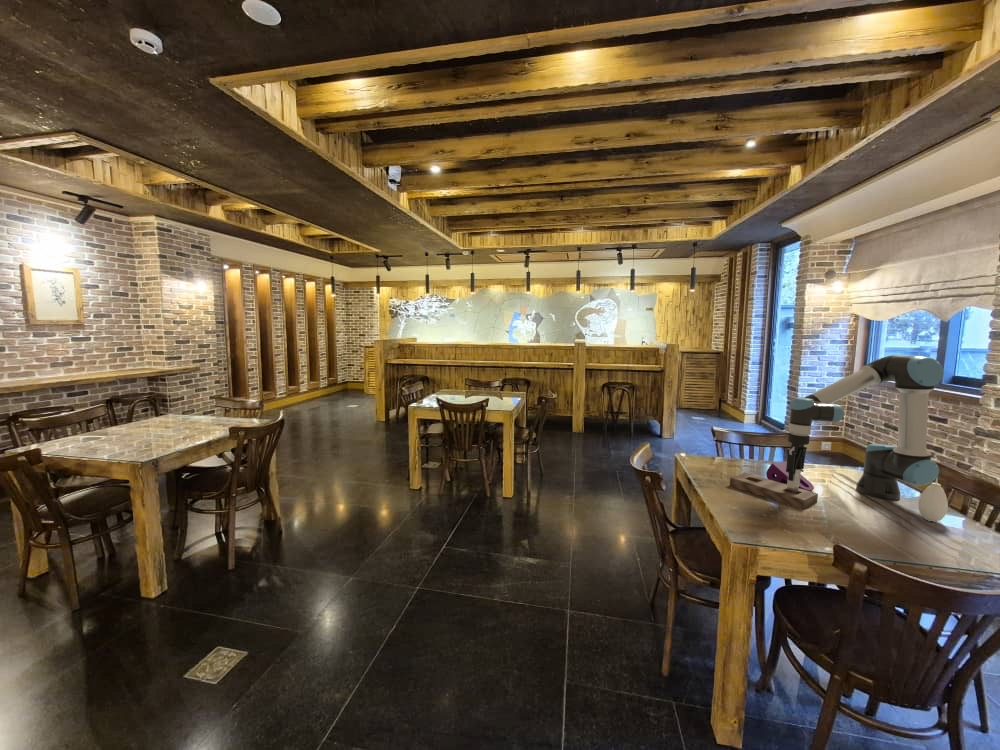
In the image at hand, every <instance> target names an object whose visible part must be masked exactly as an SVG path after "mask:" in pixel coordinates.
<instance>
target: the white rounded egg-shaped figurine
mask: <svg viewBox="0 0 1000 750" xmlns="http://www.w3.org/2000/svg"><path fill="white" fill-rule="evenodd" d="M948 506H949V502H948V498H947V495H946V492H945V490H944V489H943V487H942V485H941V484H940V483H938V477H937V478H936V479H935V482H931V483H930V484H929V486H927V487H926V488H925V489H924V490H923V491H922V493H921V495H920V497H919V499H918V511H919V513H920V515H921V517H923V519H925V520H926V521H927V520H928V522H930V521H933V522H932V523H934V522H935V523H937V522H938V521H939V522H940V521H942V520H943V519H944V518H945V517H946V515H947V513H948V508H949V507H948Z"/></svg>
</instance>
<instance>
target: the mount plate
mask: <svg viewBox="0 0 1000 750" xmlns="http://www.w3.org/2000/svg"><path fill="white" fill-rule="evenodd" d="M729 486H730V487H732V486H733V488H736V489H739V490H742V491H745V492H748V491H749V493H751V492H752V494H754V493H756V494H755V495H757V494H759V495H758V496H760V495H761V497H763V496H764V497H763V498H766V497H767V498H766V499H769V498H770V500H773V501H776V502H778V503H779V502H780V503H782V504H786V505H788V504H789V505H788V506H791V505H792V506H791V507H794V506H795V507H794V508H797V507H798V509H800V508H801V510H805V509H807V508H809V507H812V506H814V505H815V504H817V503H818V497H819V493H816V492H813V491H812V492H810V491H807V490H803V489H800V488H799V489H798V494H797V495H796V494H793V493H790V492H787V483H784V482H783V483H779V482H776V481H772V480H769V479H767V478H764V477H761V476H759V475H754V474H752V473H751V474H750V473H748V472H743V473H739V474H737V475H733V476H730V478H729Z"/></svg>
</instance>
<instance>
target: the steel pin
mask: <svg viewBox="0 0 1000 750" xmlns="http://www.w3.org/2000/svg"><path fill="white" fill-rule="evenodd" d="M800 472H801V470H800V469H798V468H796V472H795V474H796V481H795V488H794V489H793V488H790V487H787V492H790V493H793V494H796V495H797V494H798V489H799V480H800ZM801 473H802V472H801Z"/></svg>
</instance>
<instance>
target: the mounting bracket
mask: <svg viewBox="0 0 1000 750" xmlns="http://www.w3.org/2000/svg"><path fill="white" fill-rule="evenodd" d="M786 466H787V461H780V462H772V463H771V464H770V465H769V467H768V468H767V470H766V473H765V476H766V479H769V480H772V481H776V482H779V483H783V484H784V483H785V482H787V480H788V472H786ZM784 481H785V482H784ZM799 488H800V489H803V490H807V491H810V492H813V491H814V489H815V486H814V484H812V483H811V481H809V480H808V479H807V478H806V476H804V475H802V474H801V476H800V484H799Z"/></svg>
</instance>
